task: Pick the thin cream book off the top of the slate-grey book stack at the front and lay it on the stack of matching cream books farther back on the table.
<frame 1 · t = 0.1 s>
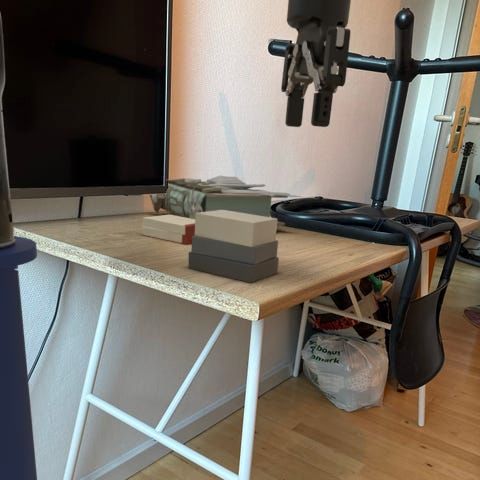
hand: (305, 126, 64), 19 cm above the table, tool pointing down, fingers open, 8 cm apart
grey stack: (233, 270, 66), on the table
white book: (235, 238, 65), point 4 cm above the table, touching grey stack
white stack: (176, 237, 86), on the table
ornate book: (219, 223, 104), on the table
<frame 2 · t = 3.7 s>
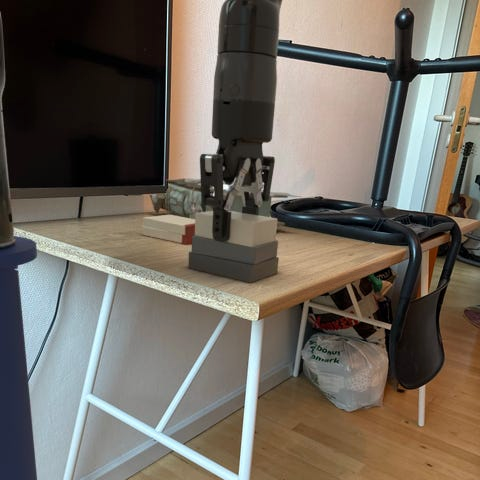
hand: (235, 236, 65), 5 cm above the table, tool pointing down, fingers closed on white book, 6 cm apart
white book: (235, 238, 65), point 4 cm above the table, touching grey stack, gripper
everything else where it was.
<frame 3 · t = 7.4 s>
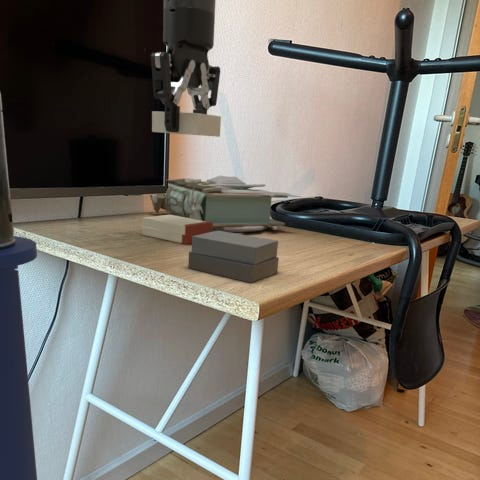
hand: (185, 132, 77), 17 cm above the table, tool pointing down, fingers closed on white book, 6 cm apart
white book: (186, 134, 77), point 17 cm above the table, touching gripper
everything else where it was.
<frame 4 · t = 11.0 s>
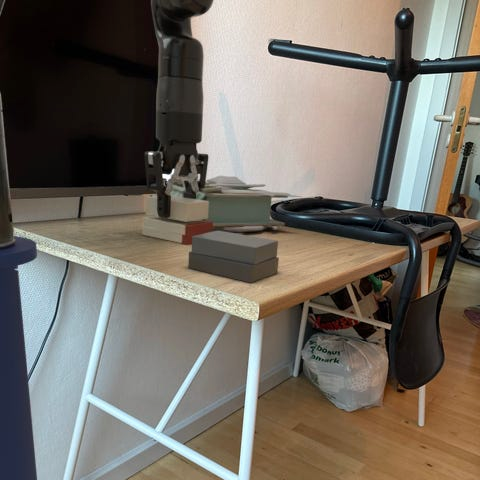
hand: (176, 215, 84), 4 cm above the table, tool pointing down, fingers closed on white book, 6 cm apart
white book: (176, 216, 84), point 4 cm above the table, touching gripper
everything else where it was.
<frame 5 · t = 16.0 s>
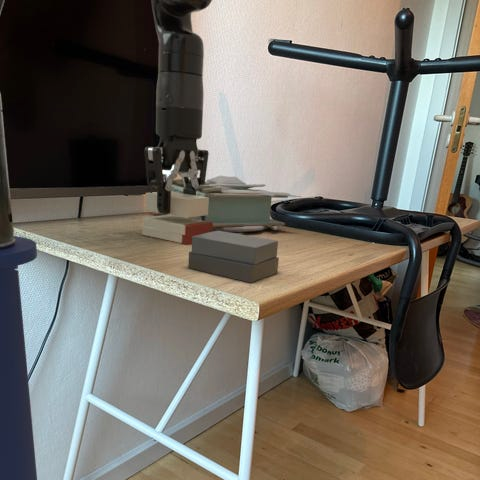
hand: (176, 211, 84), 4 cm above the table, tool pointing down, fingers closed on white book, 6 cm apart
white book: (176, 212, 84), point 4 cm above the table, touching gripper
everything else where it was.
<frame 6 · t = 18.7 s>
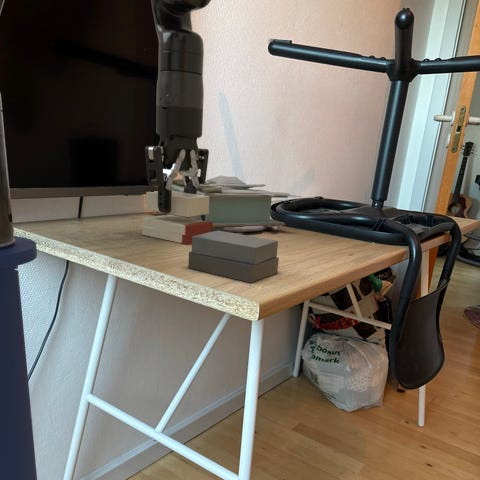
hand: (177, 210, 84), 5 cm above the table, tool pointing down, fingers closed on white book, 6 cm apart
white book: (177, 211, 84), point 4 cm above the table, touching gripper
everything else where it was.
when the fingers open (5 cm above the table, at t = 20.8 s): white book drops 1 cm, resting on white stack.
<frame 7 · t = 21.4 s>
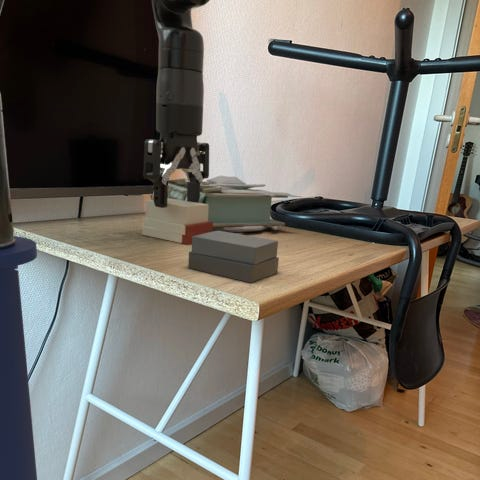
hand: (177, 205, 84), 5 cm above the table, tool pointing down, fingers open, 8 cm apart
white book: (176, 219, 84), point 3 cm above the table, touching white stack
everything else where it was.
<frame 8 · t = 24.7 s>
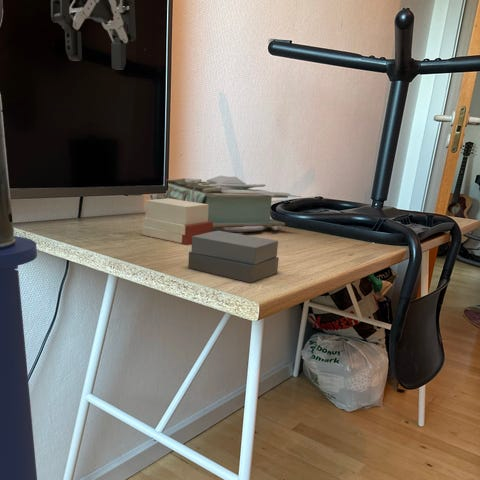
hand: (97, 65, 75), 26 cm above the table, tool pointing down, fingers open, 8 cm apart
nothing on the table moved.
at the end: white book 0.1 cm off-centre on the white stack, point 3.0 cm above the white stack's base; white book tilted 0°; the gripper is holding nothing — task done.
